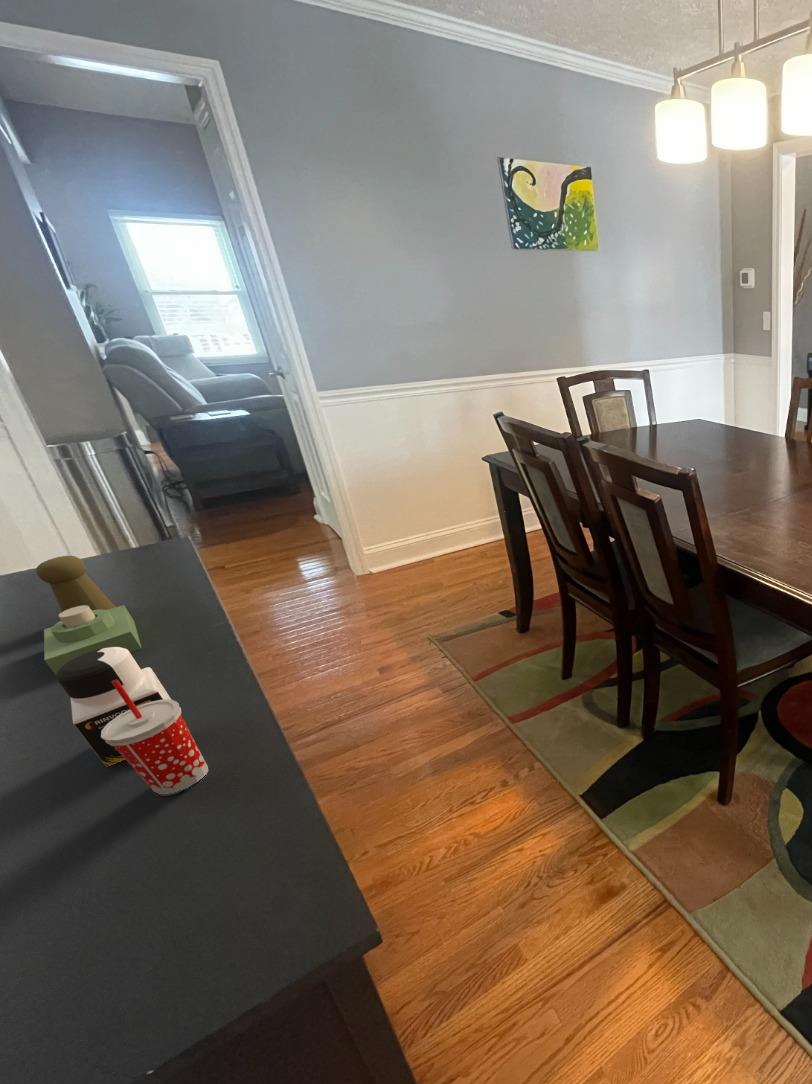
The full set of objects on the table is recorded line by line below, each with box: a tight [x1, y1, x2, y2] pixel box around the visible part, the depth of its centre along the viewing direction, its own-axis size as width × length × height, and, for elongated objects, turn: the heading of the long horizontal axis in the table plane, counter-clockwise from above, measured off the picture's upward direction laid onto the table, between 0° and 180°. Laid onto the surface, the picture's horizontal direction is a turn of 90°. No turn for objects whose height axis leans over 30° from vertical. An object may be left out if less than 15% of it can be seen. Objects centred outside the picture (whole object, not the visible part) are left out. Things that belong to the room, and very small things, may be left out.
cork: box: [35, 555, 116, 613], centre depth 96 cm, size 6×6×11 cm
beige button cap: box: [58, 605, 96, 628], centre depth 88 cm, size 3×3×2 cm
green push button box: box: [43, 604, 143, 676], centre depth 90 cm, size 12×9×5 cm
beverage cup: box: [101, 679, 209, 794], centre depth 63 cm, size 6×6×14 cm
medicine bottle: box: [55, 647, 172, 768], centre depth 70 cm, size 7×7×12 cm
